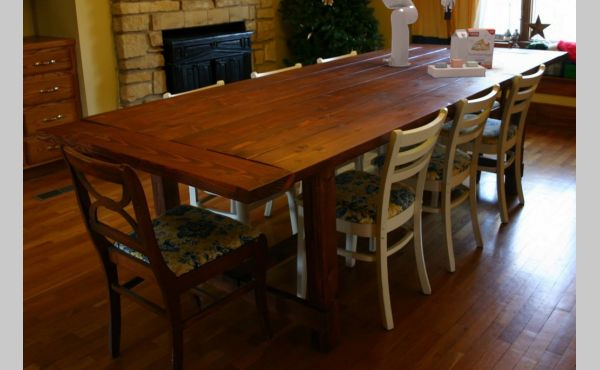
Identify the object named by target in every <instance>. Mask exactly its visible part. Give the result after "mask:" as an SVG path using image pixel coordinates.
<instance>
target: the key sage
mask: <svg viewBox="0 0 600 370" xmlns="http://www.w3.org/2000/svg"><path fill="white" fill-rule="evenodd" d="M466 67H478V62H475V61H469V62H466Z"/></svg>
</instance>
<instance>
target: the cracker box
mask: <svg viewBox="0 0 600 370" xmlns="http://www.w3.org/2000/svg"><path fill="white" fill-rule="evenodd" d="M466 32H467V44H466V57H465V64H466V62H469V61H475V62H478V65H480V66H482V67H484V68H486V70H488V69H492V68H493V60H494V49H495V39H496V29H495V28H484V27H483V28H482V27H481V28H480V27H478V28H477V27H475V28H467V31H466Z"/></svg>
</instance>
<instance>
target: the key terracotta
mask: <svg viewBox="0 0 600 370" xmlns="http://www.w3.org/2000/svg"><path fill="white" fill-rule="evenodd" d="M449 65H450V67H452V68H462V67H463V60H461V59H451V63H450V64H449Z"/></svg>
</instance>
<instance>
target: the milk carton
mask: <svg viewBox="0 0 600 370" xmlns="http://www.w3.org/2000/svg"><path fill="white" fill-rule="evenodd" d="M466 30H467V29H466V28H464V29H463V28H462V29H461V28H460V29H455V31H454V33H453V34H452V35H451V36H450V38H451V39H450V51H449V64H451V59H461V60H463V64H465V57H466V44H467V32H468V31H466Z"/></svg>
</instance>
